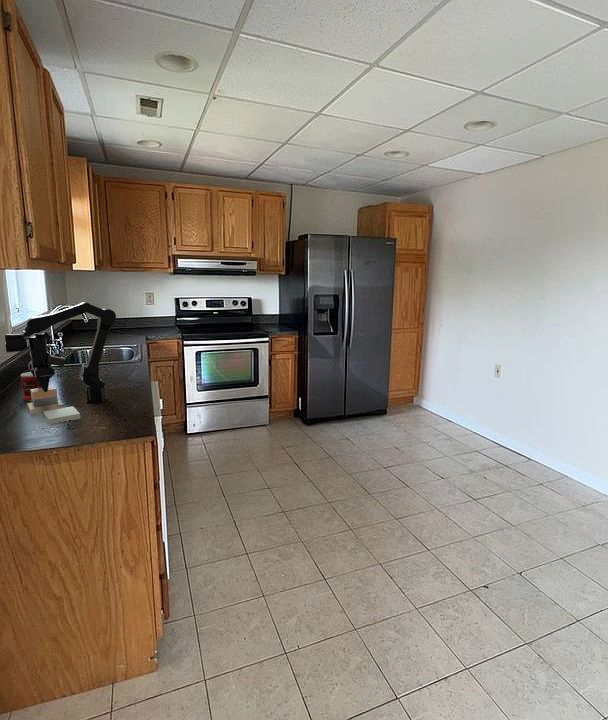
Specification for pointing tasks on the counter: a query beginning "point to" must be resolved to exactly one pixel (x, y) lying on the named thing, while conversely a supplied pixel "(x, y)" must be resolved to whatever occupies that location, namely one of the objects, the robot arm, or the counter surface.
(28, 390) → the canned food
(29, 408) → the stand
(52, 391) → the housing cover
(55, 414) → the stand
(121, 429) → the counter surface
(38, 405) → the housing base
